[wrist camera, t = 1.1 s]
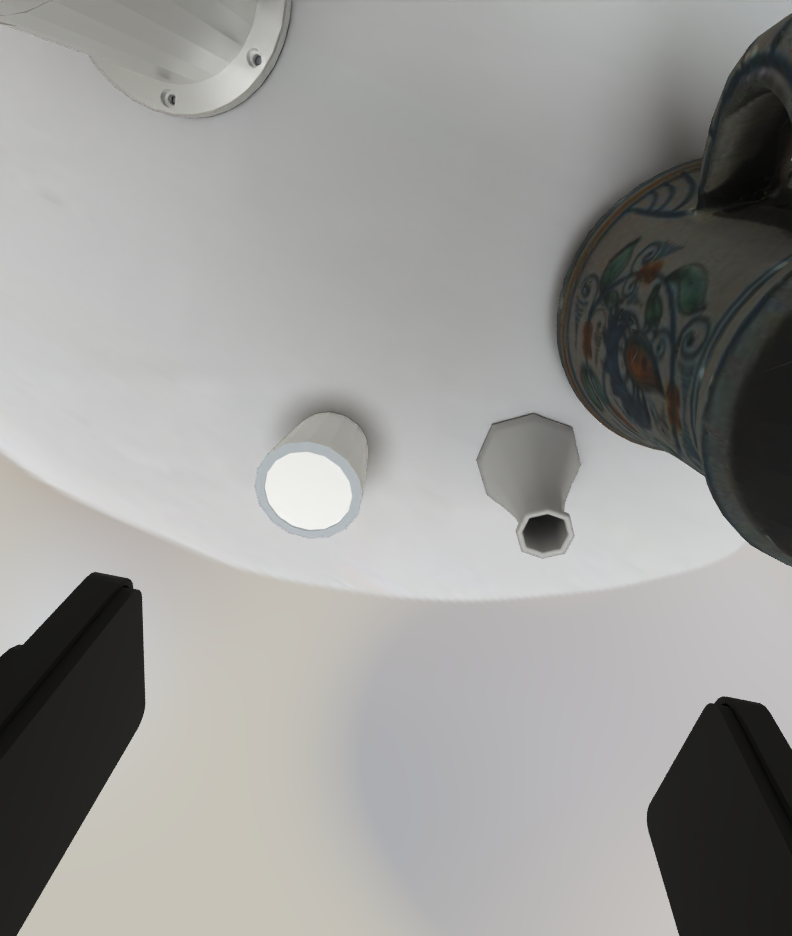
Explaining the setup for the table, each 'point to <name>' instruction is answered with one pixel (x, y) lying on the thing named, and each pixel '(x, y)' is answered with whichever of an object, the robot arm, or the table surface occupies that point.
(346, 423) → the grey cylinder
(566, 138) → the table surface
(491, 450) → the flask
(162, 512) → the table surface
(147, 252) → the table surface
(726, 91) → the beer stein
